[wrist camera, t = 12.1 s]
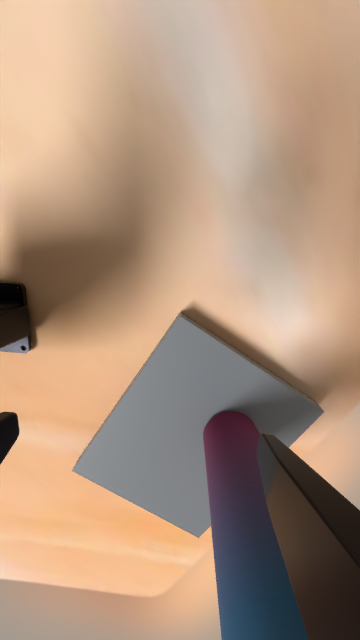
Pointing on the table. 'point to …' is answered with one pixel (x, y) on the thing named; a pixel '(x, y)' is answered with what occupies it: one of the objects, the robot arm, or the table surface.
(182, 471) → the board
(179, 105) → the table surface
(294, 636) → the cup
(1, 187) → the table surface
